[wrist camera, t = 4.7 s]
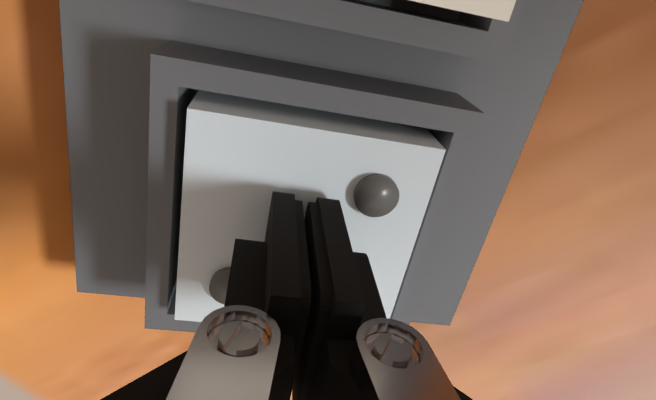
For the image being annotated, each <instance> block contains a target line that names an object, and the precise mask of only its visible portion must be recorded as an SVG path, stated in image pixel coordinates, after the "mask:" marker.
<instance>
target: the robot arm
mask: <svg viewBox="0 0 656 400" xmlns="http://www.w3.org/2000/svg"><path fill="white" fill-rule="evenodd" d="M291 391H292V396H293V400H472V399H471V398H470V397H468V396H467V395H465V394H464V393H462V392H461V391H460V390H458V389H457V388H455V387H454V386H453V385H452V384H451V382H450V380H449V378H448V377H447V375H446V373H445V371H444V370H443V368H442V366H441V364H440V363H439V361H438V359H437V358H436V356H435V354H434V352H433V351H432V349H431V347H430V345H429V344H428V342H427V341H426V340H425V338H424V337H423V336H422V335H421V334H420V333H419V332H418V331H417V330H415V329H414V328H413V327H411V326H409V325H407V324H405V323H403V322H401V321H398V320H394V319H390V318H387V317H386V314H385V311H384V308H383V304H382V301H381V298H380V294H379V291H378V288H377V285H376V281H375V278H374V275H373V271H372V268H371V265H370V262H369V258H368V256H367V254H365V253H359V252H353V250H352V247H351V243H350V239H349V235H348V231H347V227H346V223H345V219H344V215H343V212H342V208H341V204H340V201H339V200H335V199H327V198H320V197H317V199H316V202H315V203H314V202H308V205H307V209H306V214H305V219H304V211H303V202H302V201H299V200H295V194H290V193H282V192H275V191H273V192H272V197H271V203H270V210H269V216H268V222H267V229H266V235H265V241H264V242H262V241H253V240H244V239H236V238H235V243H234V249H233V255H232V261H231V268H230V274H229V280H228V286H227V293H226V299H225V305H224V307H222V308H219V309H217V310H214V311H212V312H211V313H210V314H208V315H207V316H205V318H204V319H203V320H202V322H201V323H200V325H199V327H198V329H197V331H196V333H195V336H194V338H193V340H192V342H191V345H190V347H189V349H188V351H186V352H184V353H182V354H181V355H179V356H177V357H175V358H173V359H172V360H170V361H168V362H166V363H165V364H163V365H161V366H159V367H157V368H156V369H154V370H152V371H150V372H149V373H147V374H145V375H143V376H142V377H140V378H138V379H136V380H134V381H133V382H131V383H129V384H127V385H126V386H124V387H122V388H120V389H118V390H117V391H115V392H113V393H111V394H110V395H108V396H106V397H104V398H102V399H101V400H290V396H291Z"/></svg>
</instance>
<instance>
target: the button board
mask: <svg viewBox="0 0 656 400" xmlns="http://www.w3.org/2000/svg"><path fill="white" fill-rule="evenodd" d="M583 1H584V0H516V2H515V5H514V8H513V11H512V14H511V17H510V20H509V22H506V21H502V20H497V19H493V18H488V17H484V16H479V15H474V14H470V13H465V12H461V11H456V10H451V9H447V8H442V7H438V6H433V5H428V4H424V3H419V2H415V1H410V0H59V8H60V24H61V40H62V56H63V73H64V89H65V105H66V121H67V137H68V153H69V169H70V185H71V202H72V218H73V234H74V250H75V266H76V282H77V292H85V293H96V294H107V295H118V296H129V297H140V298H145V328H148V329H160V330H173V331H185V332H196V331H197V329H198V327H199V325H200V323H201V322H195V321H183V320H174V319H175V302H176V285H177V269H178V252H179V235H180V218H181V201H182V184H183V168H184V151H185V134H186V117H187V107H188V106H189V104H190V103H191V101H192V100H193V98H194V97H195V95H196V94H197V92H198V91H199V90H203V91H209V92H215V93H221V94H227V95H233V96H239V97H245V98H250V99H256V100H262V101H268V102H274V103H280V104H286V105H292V106H298V107H304V108H310V109H316V110H322V111H328V112H334V113H340V114H346V115H351V116H357V117H363V118H369V119H375V120H381V121H387V122H393V123H399V124H405V125H411V126H417V127H423V128H427V129H428V130H429V131H430V132H431V134H432V135H433V136H434V137H435V138H436V139H437V140H438V142H439V143H440V144H441V145H442V146H443V147H444V148H445V149H446V151H445V154H444V157H443V160H442V163H441V166H440V169H439V172H438V175H437V178H436V181H435V184H434V187H433V190H432V193H431V196H430V199H429V202H428V205H427V208H426V211H425V214H424V217H423V220H422V223H421V226H420V229H419V232H418V235H417V238H416V241H415V244H414V247H413V250H412V253H411V256H410V259H409V262H408V265H407V268H406V271H405V274H404V277H403V280H402V283H401V286H400V289H399V292H398V296H397V299H396V302H395V305H394V308H393V311H392V314H391V317H390V319H394V320H398V321H401V322H403V323H405V324H407V325H409V323H410V322H417V323H428V324H439V325H450V324H451V321H452V319H453V316H454V314H455V311H456V309H457V307H458V304H459V302H460V299H461V297H462V294H463V292H464V290H465V287H466V285H467V282H468V280H469V278H470V275H471V273H472V270H473V268H474V265H475V263H476V261H477V258H478V256H479V253H480V251H481V248H482V246H483V244H484V241H485V239H486V236H487V234H488V231H489V229H490V227H491V224H492V222H493V219H494V217H495V214H496V212H497V210H498V207H499V205H500V202H501V200H502V197H503V195H504V193H505V190H506V188H507V185H508V183H509V180H510V178H511V176H512V173H513V171H514V168H515V166H516V163H517V161H518V159H519V156H520V154H521V151H522V149H523V146H524V144H525V142H526V139H527V137H528V134H529V132H530V129H531V127H532V125H533V122H534V120H535V117H536V115H537V112H538V110H539V108H540V105H541V103H542V100H543V98H544V95H545V93H546V91H547V88H548V86H549V83H550V81H551V79H552V76H553V74H554V71H555V69H556V66H557V64H558V62H559V59H560V57H561V54H562V52H563V49H564V47H565V45H566V42H567V40H568V37H569V35H570V32H571V30H572V28H573V25H574V23H575V20H576V18H577V15H578V13H579V11H580V8H581V6H582V3H583Z"/></svg>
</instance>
